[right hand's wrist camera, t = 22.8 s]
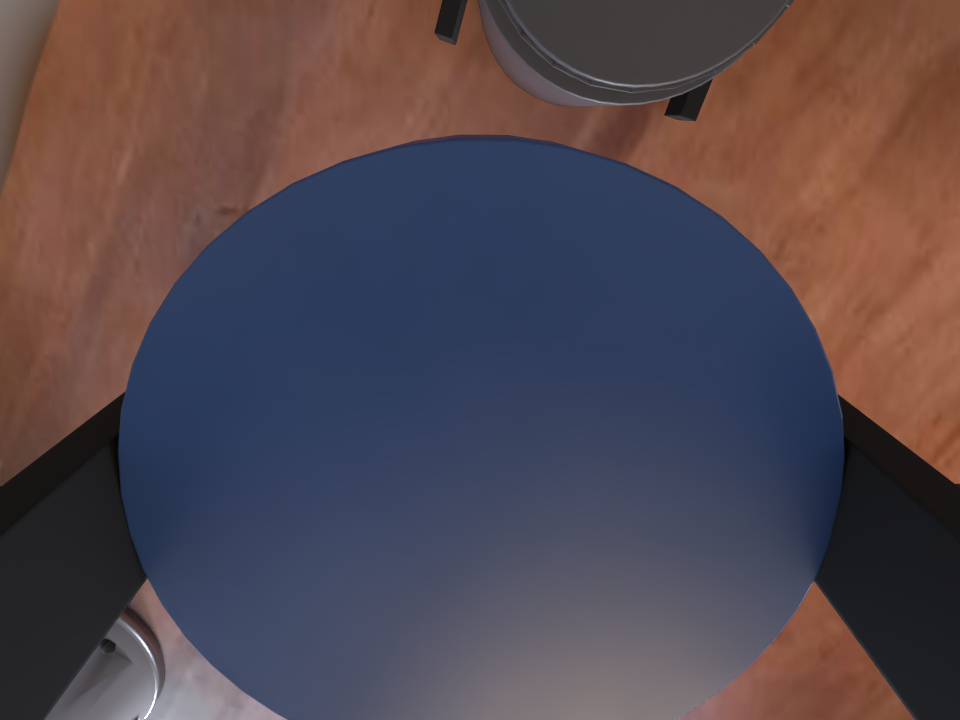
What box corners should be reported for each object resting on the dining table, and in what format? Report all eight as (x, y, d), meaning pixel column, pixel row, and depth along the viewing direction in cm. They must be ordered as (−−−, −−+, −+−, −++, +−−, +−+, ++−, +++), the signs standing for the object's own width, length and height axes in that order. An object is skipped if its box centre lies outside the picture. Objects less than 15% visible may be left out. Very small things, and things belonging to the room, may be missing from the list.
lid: (520, -32, 9) (533, -79, 7) (888, 472, 12) (975, 547, 10) (59, 418, 12) (-34, 484, 10) (456, 744, 15) (452, 850, 13)
